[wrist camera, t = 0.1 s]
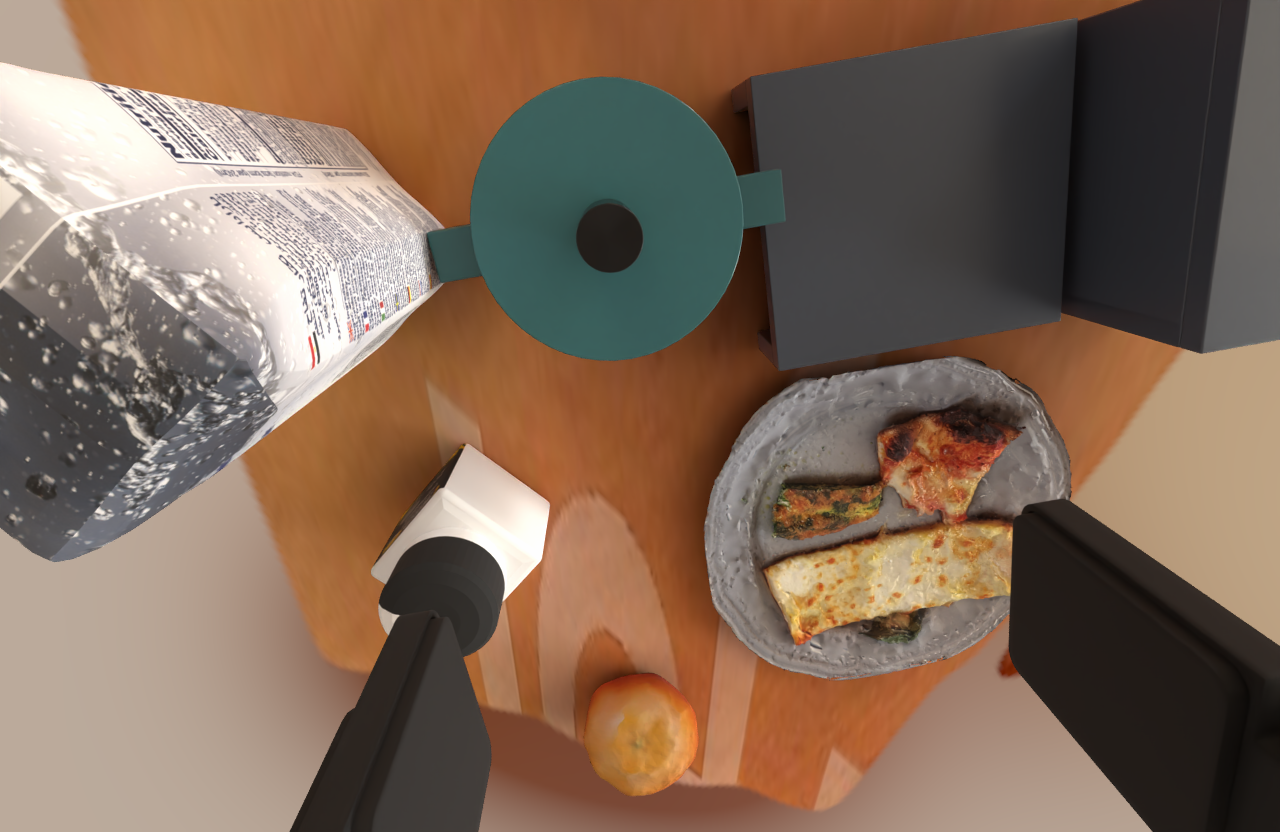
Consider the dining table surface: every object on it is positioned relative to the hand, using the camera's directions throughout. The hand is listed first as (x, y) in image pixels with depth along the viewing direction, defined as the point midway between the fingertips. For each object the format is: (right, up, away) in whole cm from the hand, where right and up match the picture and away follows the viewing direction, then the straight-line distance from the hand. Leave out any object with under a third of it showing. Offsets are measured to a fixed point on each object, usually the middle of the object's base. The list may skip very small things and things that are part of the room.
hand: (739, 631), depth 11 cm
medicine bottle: (-13, -3, +34) cm, 36 cm away
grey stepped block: (+17, +17, +28) cm, 37 cm away
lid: (-3, +12, +20) cm, 23 cm away
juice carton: (-18, +14, +27) cm, 35 cm away
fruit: (-2, -18, +40) cm, 44 cm away
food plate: (+15, -3, +36) cm, 39 cm away
